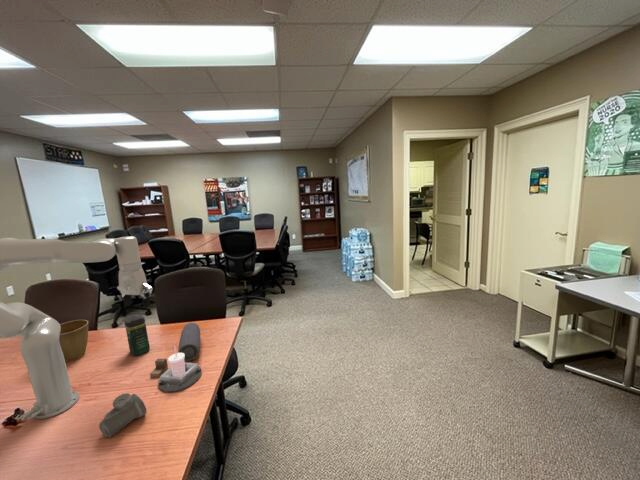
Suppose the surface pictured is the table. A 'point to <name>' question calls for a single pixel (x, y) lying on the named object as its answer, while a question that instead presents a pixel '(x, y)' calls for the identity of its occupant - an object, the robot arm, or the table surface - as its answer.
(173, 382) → the gray windowed housing
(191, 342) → the bluetooth speaker
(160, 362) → the walnut bracket
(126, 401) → the pipe fitting
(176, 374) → the beverage cup
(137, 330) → the coffee jar
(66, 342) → the plant pot
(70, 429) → the table surface
